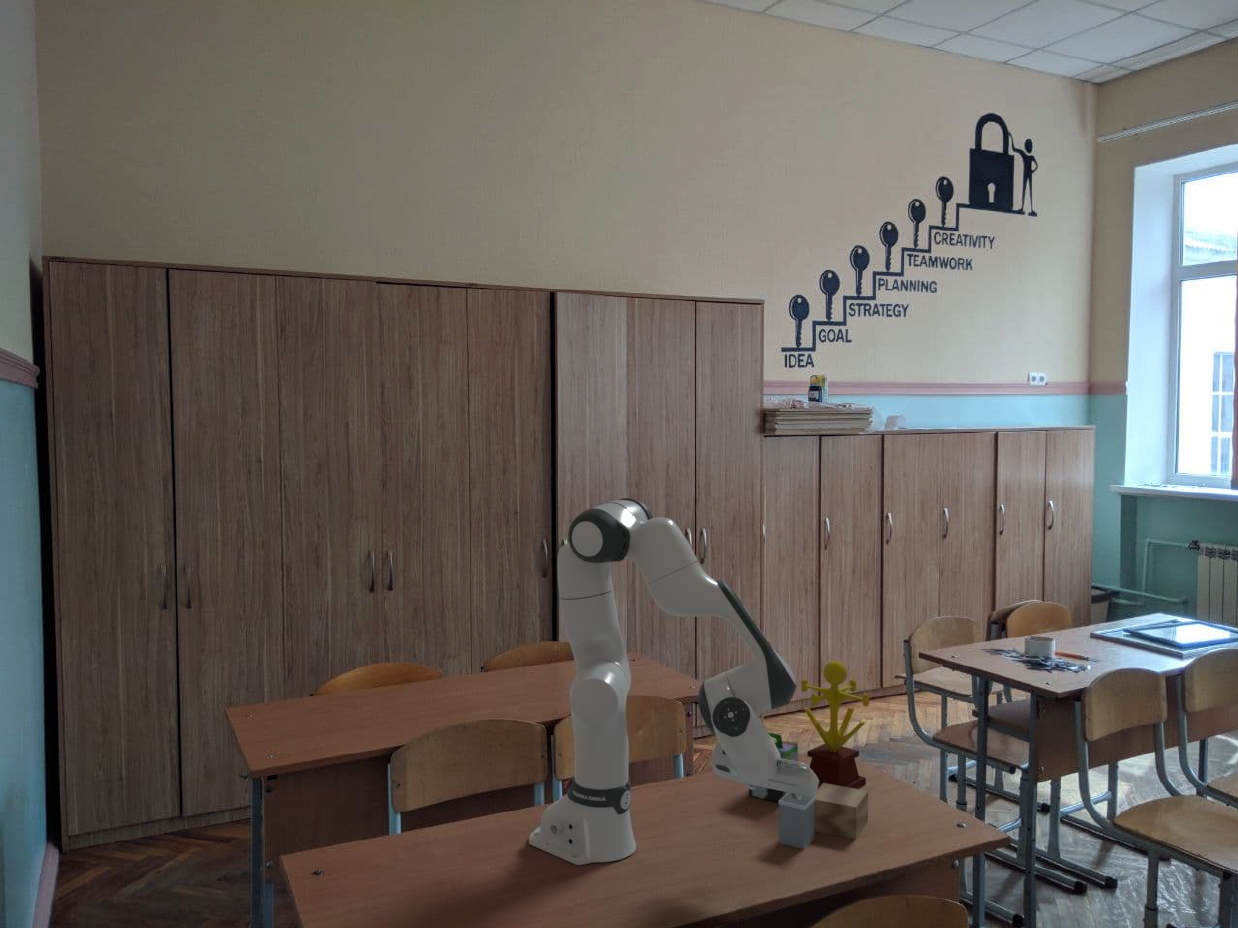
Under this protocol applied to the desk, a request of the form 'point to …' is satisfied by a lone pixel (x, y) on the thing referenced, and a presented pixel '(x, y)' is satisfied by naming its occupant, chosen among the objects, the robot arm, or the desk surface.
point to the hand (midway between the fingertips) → (775, 790)
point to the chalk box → (786, 752)
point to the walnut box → (840, 810)
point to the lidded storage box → (796, 821)
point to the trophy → (835, 732)
